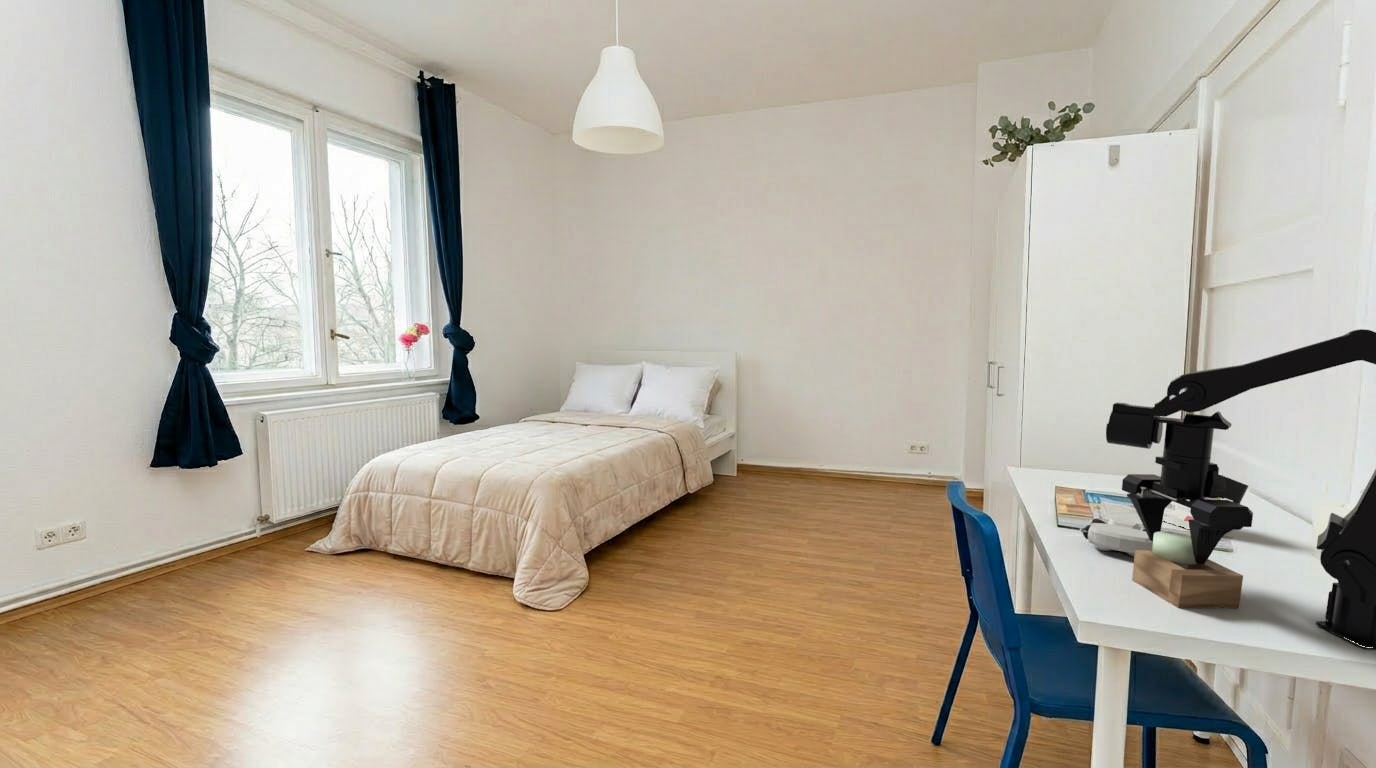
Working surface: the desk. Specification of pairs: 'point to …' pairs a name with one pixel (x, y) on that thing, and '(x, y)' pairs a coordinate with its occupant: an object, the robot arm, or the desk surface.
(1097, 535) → the robot toy
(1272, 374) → the robot arm
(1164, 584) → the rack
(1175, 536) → the peg
